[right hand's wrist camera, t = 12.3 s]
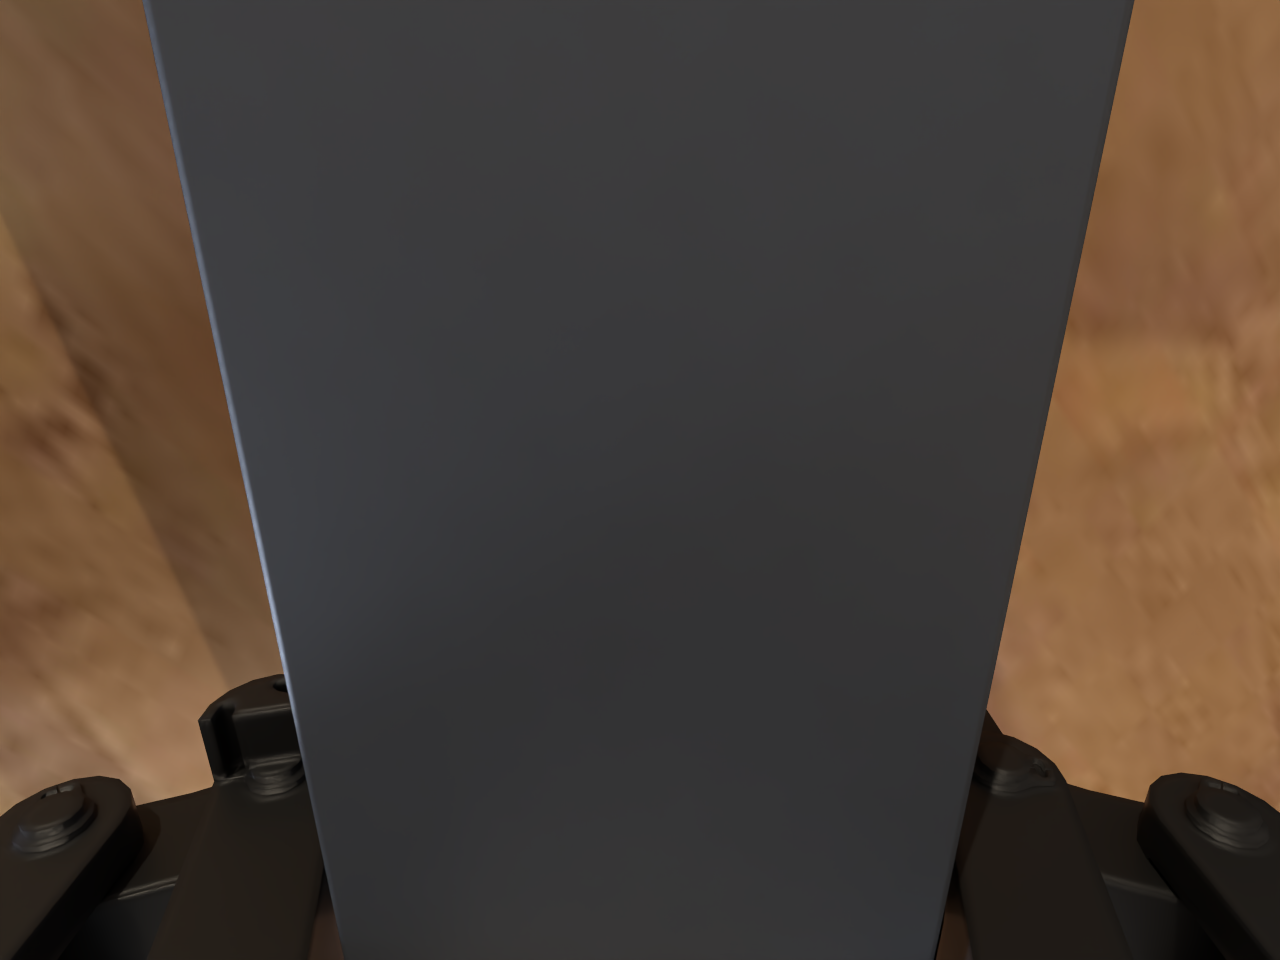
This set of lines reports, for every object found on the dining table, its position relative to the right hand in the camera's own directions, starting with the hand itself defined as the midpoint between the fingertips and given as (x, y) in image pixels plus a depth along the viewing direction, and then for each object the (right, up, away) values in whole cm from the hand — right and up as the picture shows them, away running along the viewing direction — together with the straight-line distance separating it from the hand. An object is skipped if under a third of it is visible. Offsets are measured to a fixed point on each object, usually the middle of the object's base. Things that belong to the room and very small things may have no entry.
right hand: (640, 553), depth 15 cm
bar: (0, +12, -4) cm, 12 cm away
